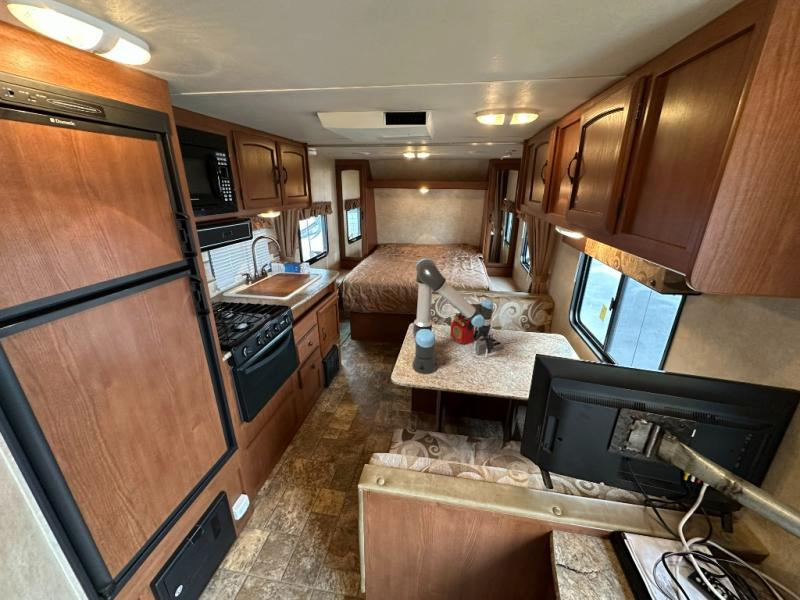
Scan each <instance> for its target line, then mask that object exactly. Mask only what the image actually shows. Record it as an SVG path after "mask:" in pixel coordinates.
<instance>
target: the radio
mask: <svg viewBox="0 0 800 600" xmlns="http://www.w3.org/2000/svg"><path fill="white" fill-rule="evenodd" d="M474 332H475V326H473V325H472V323H471V322H470V321H469V320H468V319H467V318H466V317H465V316H463V315H462V314H461V313H460V312H459V313H456V314H454V315H453V320H452V322H450V337H451V338H452V339H453V340H455V341H456V342H457V343H459V344H463V345H466V344H471V343H474V339H473V338H472V337H473V334H474Z"/></svg>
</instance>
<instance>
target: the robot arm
mask: <svg viewBox="0 0 800 600" xmlns="http://www.w3.org/2000/svg"><path fill="white" fill-rule="evenodd" d="M415 267H416V268H415V270H416V280H415V281H416V283H417V285H418V288H417V291H418V292H417V307H416V319H414V321H413V326H412V335H413V337H414V338H413V339H414V342H415V343H414V345H415V346H414V347H415V348H414V349H415V350H414V351H415V354H414V358H413V360H412V364H411V367H412V369H413V371H414V372H417V373H418V374H423V375H425V374H426V375H427V374H432V373H434V372H435V371H436V370H437V368H438V367H437V365H438V364H437V360H436V357H435V347H436V334H435V332H433V322H432V320H431V314H432V300H433V292H434V293H438V294H439V295H440V296H441V297H443V298H444V300H445V301H446V302H448V303H449V304H451V305H452V307H454V308H455V309H456V310H457V311H458V312H459V313H461V314H462V315H463V316H465V317H466V318H467V319H468V320H469V321H470V322H471V323H472V325H473V326H474V334H473V337H472V338H473V345H474V347H473V351H476V346H477V343H478V342H479V341H478V339H479V338H481V337H484V339H485V342H486V345H487V349H486V353H485V359H486V358H489V357H490V355H491V353H490V352H491V350H492V349H494V346H493V338H494V335H493V333H490V330H491V327H492V326H491V324H492V317H493V316H492V315H493V310H494V302H493V301H492V300H490V299H482V300H481V301H480V303H470V301H468V300H467V299H465V297H464V296H462V295H461V294H460V293H459V292H458V291H457V290H456V289H455V288H453V286H452V285H451V284H449V283H448V282H447V279H446V277H444V276H443V274H442V273H441V271H440V270H439V268H438V267H437V266H436V263H435V262H434V260H432V259H430V258H422V259H420V260H418V261H417V263H416V266H415Z"/></svg>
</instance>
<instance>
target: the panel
mask: <svg viewBox="0 0 800 600" xmlns="http://www.w3.org/2000/svg"><path fill="white" fill-rule="evenodd" d="M486 349H487V345H486V342H485V341H484V342H481V343H477V346H476V350H475V355H476V356H478V357H479V356H482V355H486Z"/></svg>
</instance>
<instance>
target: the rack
mask: <svg viewBox="0 0 800 600" xmlns="http://www.w3.org/2000/svg"><path fill="white" fill-rule="evenodd" d="M478 341H479V342H478V343H481V342H484V341H485V339H484V337H483V336H480V338H479V339H478ZM493 346H494V349H492V350H491V352H490V354H492V353H494V352H498V351H500V350H503V349H504V348H505V344H504V343H503V342H501V341H500V340H498V339H496V338H494V337H493Z"/></svg>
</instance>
